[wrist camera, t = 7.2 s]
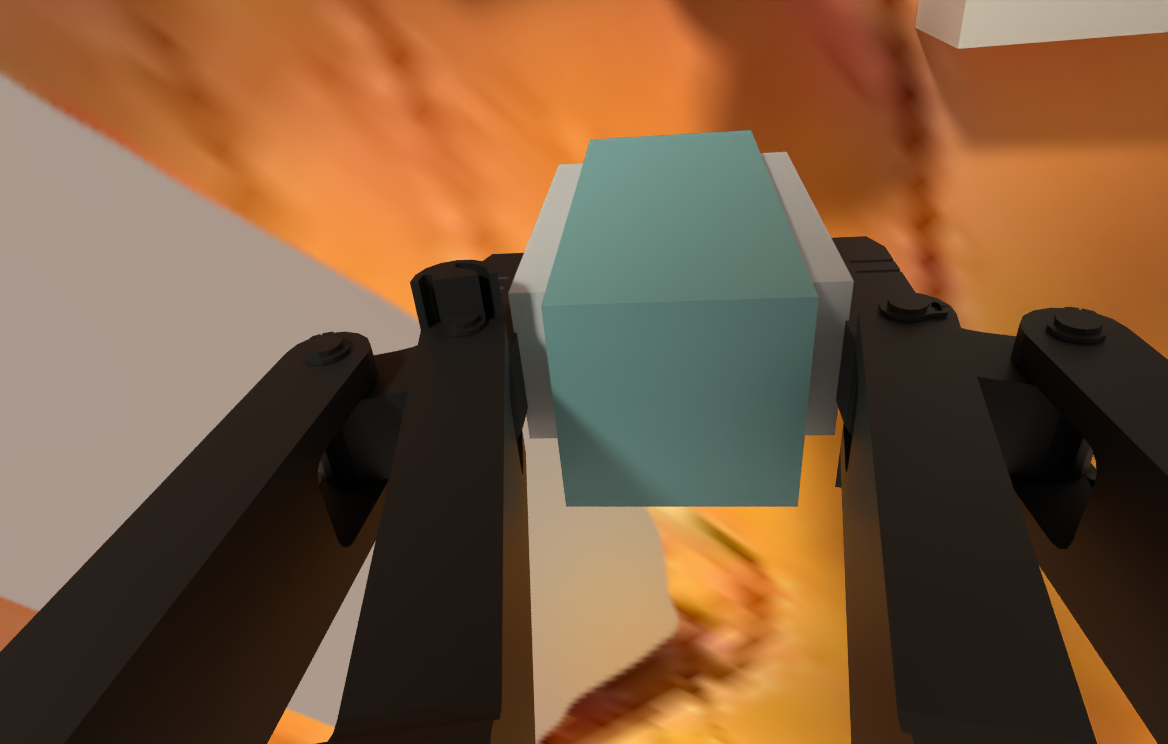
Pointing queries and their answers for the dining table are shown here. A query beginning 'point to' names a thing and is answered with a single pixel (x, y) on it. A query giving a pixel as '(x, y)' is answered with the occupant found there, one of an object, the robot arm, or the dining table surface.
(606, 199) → the block
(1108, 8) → the notched board
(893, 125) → the dining table surface
